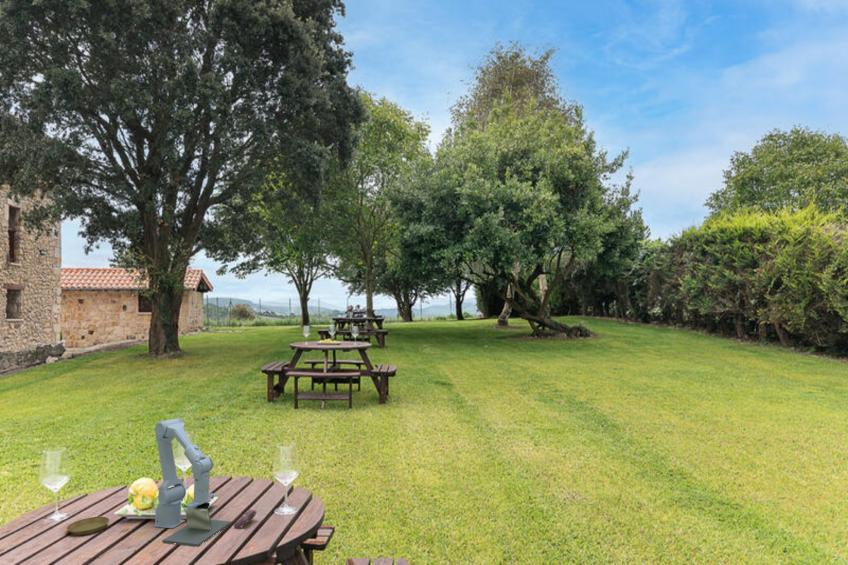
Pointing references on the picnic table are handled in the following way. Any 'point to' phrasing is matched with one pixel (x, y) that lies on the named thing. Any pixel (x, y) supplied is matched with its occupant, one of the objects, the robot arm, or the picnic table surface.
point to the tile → (198, 518)
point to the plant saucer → (88, 525)
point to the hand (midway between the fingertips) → (200, 522)
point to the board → (196, 534)
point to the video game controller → (245, 518)
